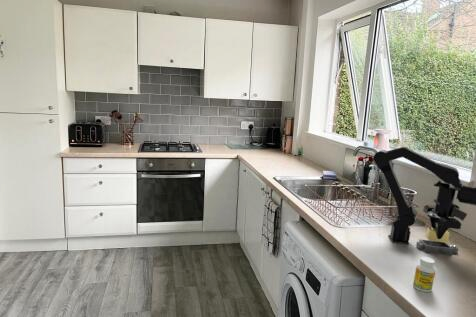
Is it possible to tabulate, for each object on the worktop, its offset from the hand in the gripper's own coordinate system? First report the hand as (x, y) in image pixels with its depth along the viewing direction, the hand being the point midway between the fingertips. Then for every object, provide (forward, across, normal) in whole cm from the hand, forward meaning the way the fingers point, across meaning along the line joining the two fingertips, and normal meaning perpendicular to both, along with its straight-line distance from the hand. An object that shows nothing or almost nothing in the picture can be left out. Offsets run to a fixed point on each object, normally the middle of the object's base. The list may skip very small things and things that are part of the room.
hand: (436, 236), depth 143 cm
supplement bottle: (+6, -32, +18) cm, 37 cm away
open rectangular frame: (+6, 0, 0) cm, 6 cm away
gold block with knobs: (+1, 0, 0) cm, 1 cm away
